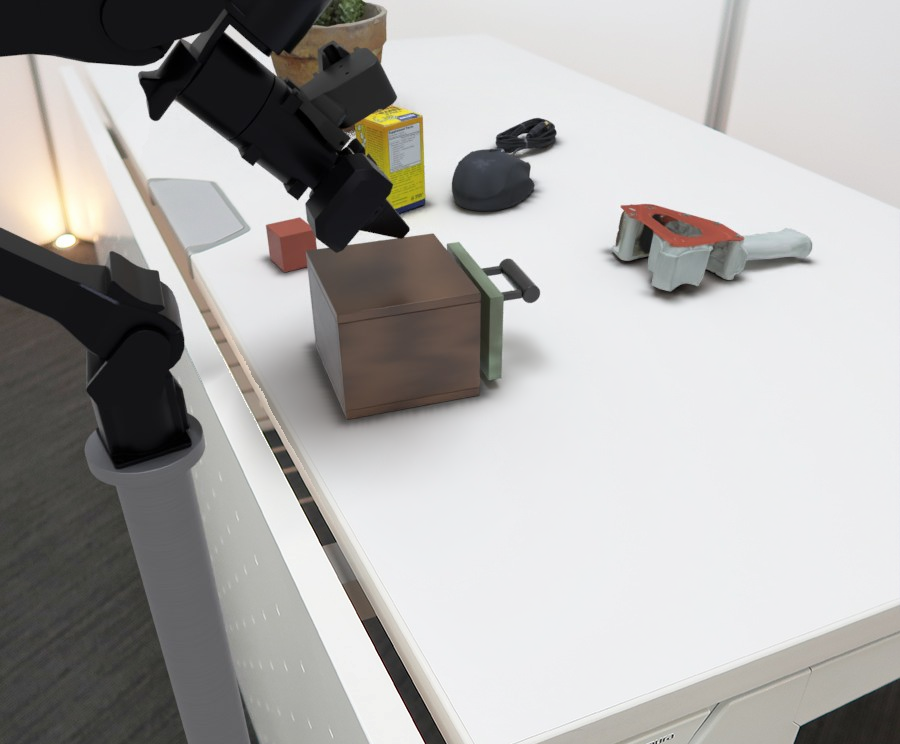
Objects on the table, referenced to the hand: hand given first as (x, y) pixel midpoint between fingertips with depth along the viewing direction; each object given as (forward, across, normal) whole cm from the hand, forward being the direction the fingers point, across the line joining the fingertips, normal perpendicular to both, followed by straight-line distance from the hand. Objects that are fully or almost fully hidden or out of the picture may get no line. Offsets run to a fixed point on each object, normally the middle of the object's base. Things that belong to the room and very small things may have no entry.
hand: (405, 232), depth 75 cm
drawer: (+11, 0, +6) cm, 12 cm away
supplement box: (+15, +38, +3) cm, 41 cm away
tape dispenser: (+34, +9, -15) cm, 38 cm away
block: (+5, +26, +13) cm, 29 cm away
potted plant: (+15, +74, +3) cm, 76 cm away
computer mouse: (+28, +44, -10) cm, 54 cm away
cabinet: (+8, 0, +10) cm, 13 cm away
